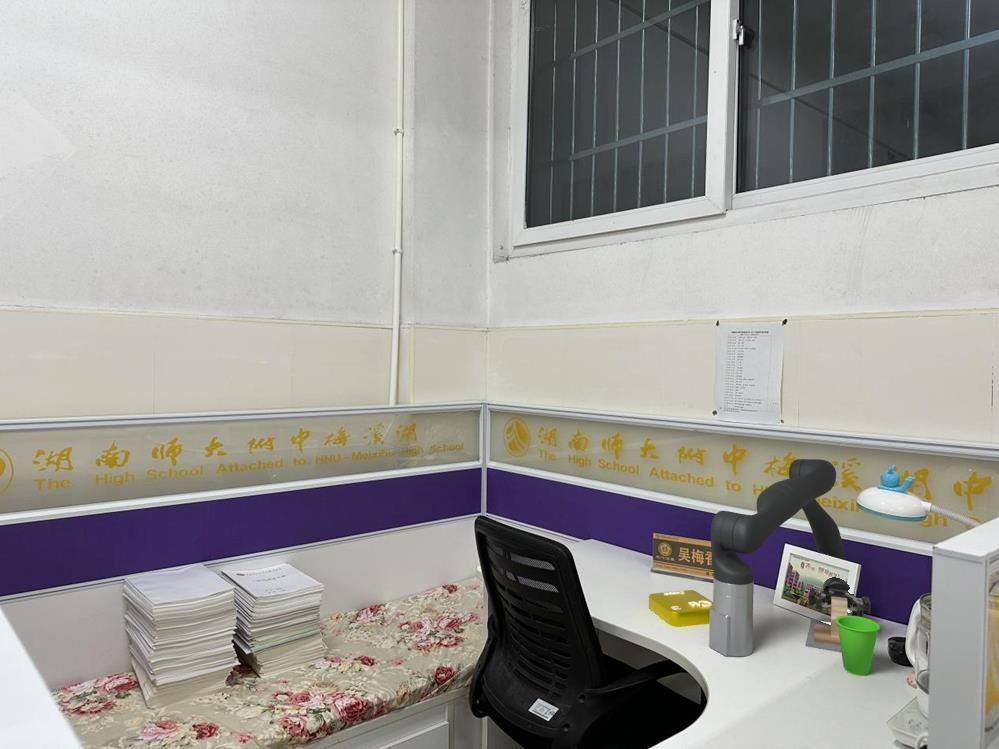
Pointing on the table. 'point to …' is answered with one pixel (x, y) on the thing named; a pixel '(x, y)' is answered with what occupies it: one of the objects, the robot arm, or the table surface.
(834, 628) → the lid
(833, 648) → the mat
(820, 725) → the table surface
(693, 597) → the element tile
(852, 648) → the cup
